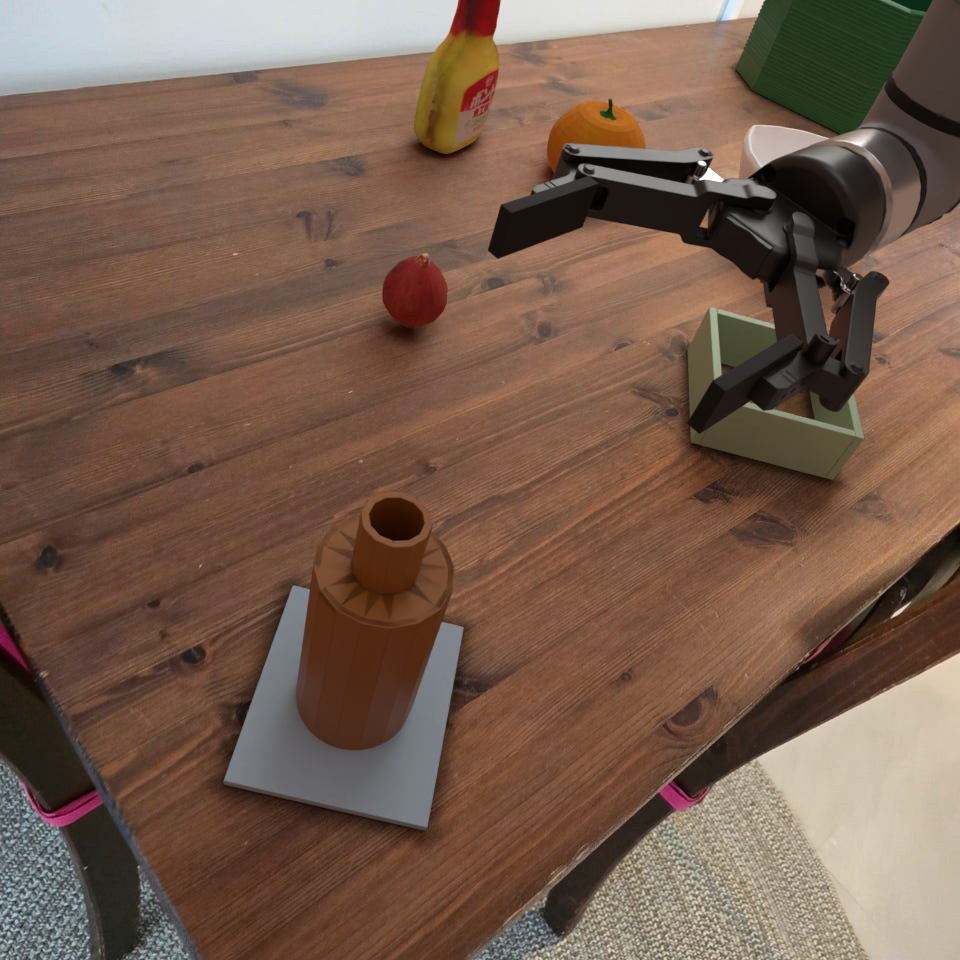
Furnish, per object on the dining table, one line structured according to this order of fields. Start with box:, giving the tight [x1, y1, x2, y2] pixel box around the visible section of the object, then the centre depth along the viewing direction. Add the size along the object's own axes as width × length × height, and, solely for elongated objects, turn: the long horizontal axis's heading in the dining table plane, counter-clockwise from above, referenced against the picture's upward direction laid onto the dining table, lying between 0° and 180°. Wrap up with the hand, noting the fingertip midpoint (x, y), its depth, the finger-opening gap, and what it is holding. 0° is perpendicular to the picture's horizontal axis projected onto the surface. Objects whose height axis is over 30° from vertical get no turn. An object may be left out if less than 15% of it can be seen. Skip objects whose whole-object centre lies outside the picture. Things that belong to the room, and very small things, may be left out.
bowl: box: [738, 124, 830, 179], centre depth 106 cm, size 18×18×9 cm
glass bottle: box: [296, 491, 456, 750], centre depth 49 cm, size 7×7×18 cm
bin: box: [686, 306, 865, 481], centre depth 83 cm, size 14×14×6 cm
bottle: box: [413, 0, 502, 155], centre depth 99 cm, size 12×6×20 cm, turn 141°
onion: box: [381, 252, 449, 329], centre depth 79 cm, size 6×6×8 cm
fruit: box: [546, 98, 647, 173], centre depth 104 cm, size 12×12×10 cm
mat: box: [223, 585, 465, 832], centre depth 56 cm, size 14×12×1 cm
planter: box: [735, 0, 933, 135], centre depth 137 cm, size 26×26×18 cm
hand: (595, 315), depth 41 cm, fingers open, 13 cm apart
